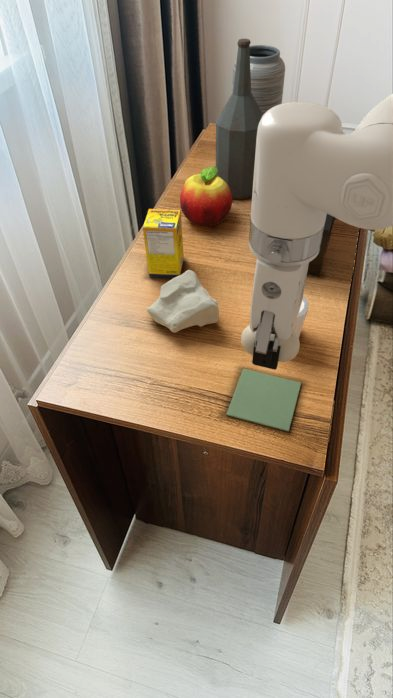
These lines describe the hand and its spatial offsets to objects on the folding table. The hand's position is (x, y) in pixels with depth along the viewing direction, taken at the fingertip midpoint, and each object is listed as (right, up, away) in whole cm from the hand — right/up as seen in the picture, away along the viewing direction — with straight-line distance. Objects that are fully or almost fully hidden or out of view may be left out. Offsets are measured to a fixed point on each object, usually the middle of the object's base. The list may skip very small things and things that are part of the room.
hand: (269, 350), depth 65 cm
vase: (+5, +49, +60) cm, 78 cm away
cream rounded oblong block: (0, 0, 0) cm, 1 cm away
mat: (0, -7, +8) cm, 10 cm away
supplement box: (-15, +15, +29) cm, 36 cm away
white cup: (+4, +2, +17) cm, 17 cm away
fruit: (-8, +28, +40) cm, 49 cm away
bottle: (0, +37, +49) cm, 61 cm away
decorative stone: (-12, +5, +20) cm, 24 cm away
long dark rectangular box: (+13, +24, +36) cm, 45 cm away
